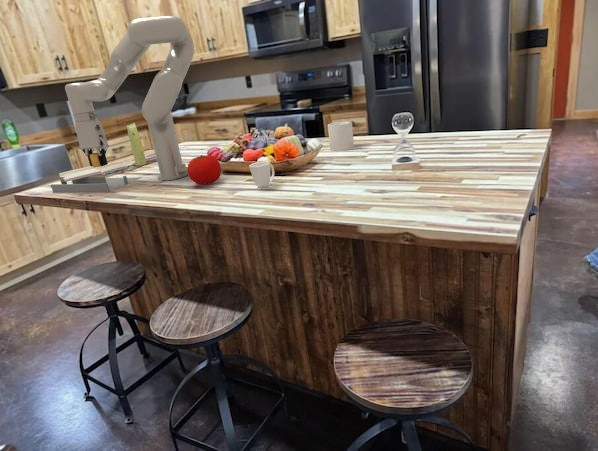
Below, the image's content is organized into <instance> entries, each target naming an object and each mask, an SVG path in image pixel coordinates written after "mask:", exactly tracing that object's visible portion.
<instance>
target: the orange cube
mask: <svg viewBox="0 0 598 451" xmlns="http://www.w3.org/2000/svg"><path fill="white" fill-rule="evenodd" d="M98 156H99V155H98V153H97V152H93V154H90V159H91V162H92V165H93V167H95V168H102V166H100V163H99V159H98Z"/></svg>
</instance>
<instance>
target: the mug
mask: <svg viewBox="0 0 598 451" xmlns="http://www.w3.org/2000/svg"><path fill="white" fill-rule="evenodd" d="M327 131H328V140H329V141H328V142H329V150H330V151H332V152H345V151H350V150H352V149H354V148H355V142H354V131H353V121H351V120H344V121H343V120H342V121H335V122H331V123H328V124H327Z"/></svg>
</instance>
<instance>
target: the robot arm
mask: <svg viewBox="0 0 598 451" xmlns="http://www.w3.org/2000/svg"><path fill="white" fill-rule="evenodd" d="M159 44H169V45H170V48H169V52H168V54H167V56H166V58H165V61H164V63H163V65H162V68H161V70H160V71H159V72H157V73H156V74H155V76H154V78H153V79H152V82H151V85H150V87H149V89H148V91H147V94H146V96H145V98H144V100H143V103H142V106H141V113H142V117H143V118H144V119H145V120H146V121H147V126H148V127H147V128H148V131H149V135H150V138H151V142H152V147H153V150H154V155H155V159H156V163H157V167H158V169H159V173H160V174H158V175H157V176H156V179H157V181H162V182H163V181H165V182H167V181H174V180H178V179H182V178H184V177H187V176H189V175H188V166H186V163H184V162H183V158H182V154H181V149H180V147H179V146H180V145H179V142H178V137H177V133H176V130H175V129H176V128H175V124H174V119H173V114H172V109H173V107H174V105H175V103H176V100H177V98H178V97H179V94H180V91H181V90H182V86H183V82H184V80H185V78H186V75H187V73H188V70H189V68H190V66H191V64H192V61H193V58H194V53H195V45H194V40H193V37H192V35H191V34H190V32H189V30H188V28H187V25H186V23H185V21H184V20H183V19H182V18H181V17H178V16H176V15H165V16H154V17H140V18H139V17H138V18H135V19H133V20H131V21H130V22H129V24H128V26H127V31H126V33H125V34H124V35H123V37H122V38H121V40H120V41H119V42H118V43H117V45H116V46H115V47H114V49H113V50H112V52H111V55H110V58H109V61H108V64H107V65H106V67H105V68H104V70H103V72H102V73H100V75H99V77H98V78H97V79H93V80H90V81H86V82H82V81H81V82H72V83H67V84H66V85H65V86H64V90H65V93H66V96H67V99H68V102H69V106H70V109H71V114H72V116H73V119H74V126H75V133H76V137H77V140H78V144H79V145H78V149H79V150H80V151H81V152H83V154H85V156H86V157H87V159H88V163H89V166H93V165H92V162H91V159H90V154H93V153H94V149H95V151H96V153H98V155H99V156H98V159H99V163H100V166H101V167H104V166H108V164H109V163H108V159H107V156H106V155H107V151H108V149H109V148H110V144H109V143H108V141H107V136H106V134H105V130H104V128H103V126H102V124H101V122H100V120H99V119H98V118H97V113H96V112H95V108H94V103H93V102H105V101H107V100H109V99H111V98H112V97H113V95H115V94H116V92H117V91H118V89H119V88H120V87H121V85H122V84H123V83H124V81H125V80H126V79H127V77H128V76H129V75H130V74H131V73H132V70H134V68H135V67H136V65H137V64H138V62H139V61H140V60H141V59H142V57H143V56H144V55H145V53H146V52H147V51H148V50H149V48H150V47H151V46H152V45H159Z"/></svg>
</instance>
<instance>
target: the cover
mask: <svg viewBox="0 0 598 451" xmlns="http://www.w3.org/2000/svg"><path fill="white" fill-rule="evenodd" d="M58 174H59V181H60V184H68V182H72V180H76V179H80V178H84V177H93V176H95V175H100V174H102V170H100V169H98V168H97V167H93V166H90V165H89V166H86V167H84V166H83V167H81V168H80V167H79V168H77V169H73V170H68V171H64V172H59V173H58Z"/></svg>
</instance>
